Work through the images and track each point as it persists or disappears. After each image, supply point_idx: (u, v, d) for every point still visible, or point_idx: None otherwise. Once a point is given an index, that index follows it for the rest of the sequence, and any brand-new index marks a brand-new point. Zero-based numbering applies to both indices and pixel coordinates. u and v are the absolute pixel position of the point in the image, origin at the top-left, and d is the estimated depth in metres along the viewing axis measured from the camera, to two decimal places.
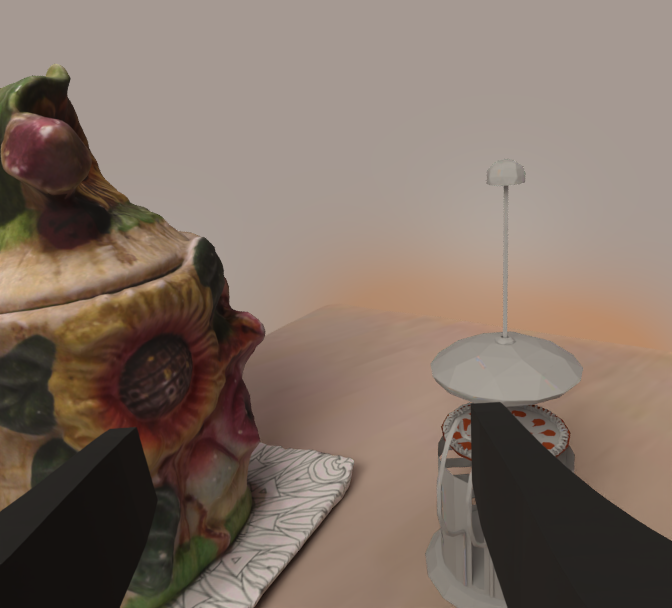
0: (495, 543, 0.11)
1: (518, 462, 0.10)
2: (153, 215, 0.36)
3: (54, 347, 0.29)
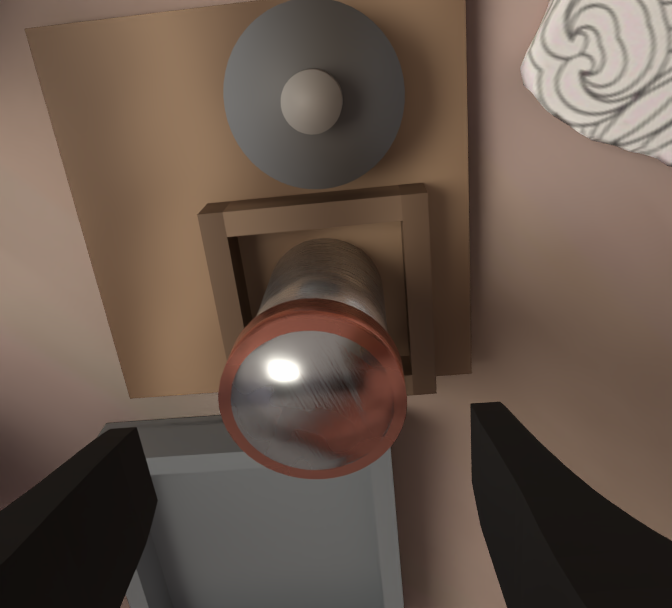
0: (495, 543, 0.11)
1: (518, 462, 0.10)
2: None
3: None
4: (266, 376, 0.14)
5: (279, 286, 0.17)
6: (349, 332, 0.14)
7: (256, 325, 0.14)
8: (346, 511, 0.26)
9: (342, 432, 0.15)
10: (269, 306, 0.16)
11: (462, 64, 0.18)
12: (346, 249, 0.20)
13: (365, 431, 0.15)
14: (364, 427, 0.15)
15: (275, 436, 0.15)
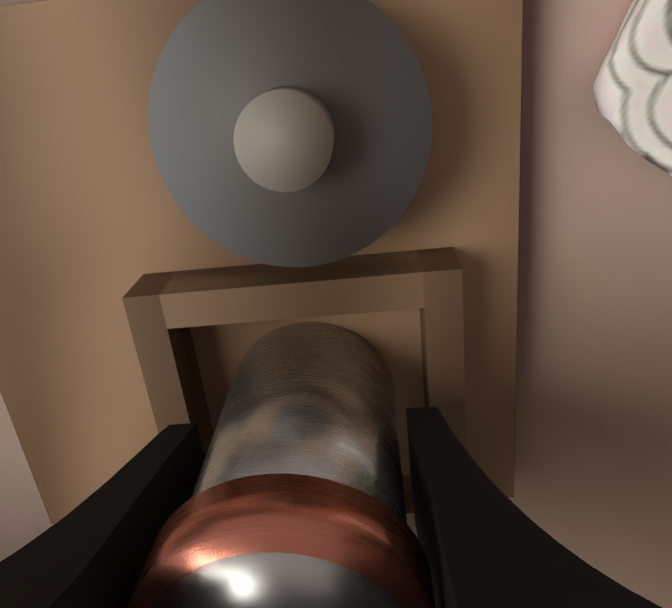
0: (424, 547, 0.11)
1: (436, 467, 0.10)
2: None
3: None
4: None
5: (238, 417, 0.11)
6: (343, 555, 0.08)
7: (185, 528, 0.08)
8: None
9: None
10: (218, 461, 0.10)
11: (515, 77, 0.12)
12: (342, 341, 0.14)
13: None
14: None
15: None
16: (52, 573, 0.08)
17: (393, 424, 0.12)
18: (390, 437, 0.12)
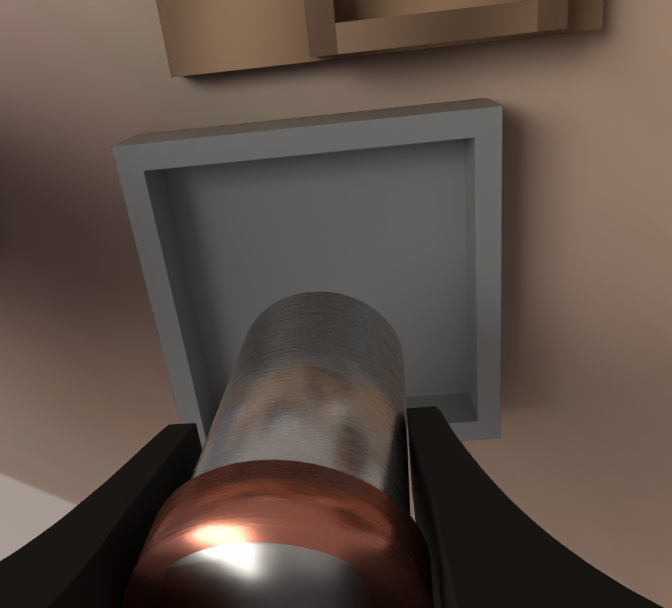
0: None
1: (437, 467, 0.10)
2: None
3: None
4: (201, 594, 0.08)
5: (246, 390, 0.11)
6: (345, 551, 0.08)
7: (188, 509, 0.08)
8: (429, 251, 0.21)
9: None
10: (224, 437, 0.10)
11: None
12: (355, 314, 0.13)
13: None
14: None
15: None
16: (51, 573, 0.08)
17: (402, 404, 0.12)
18: (398, 419, 0.12)
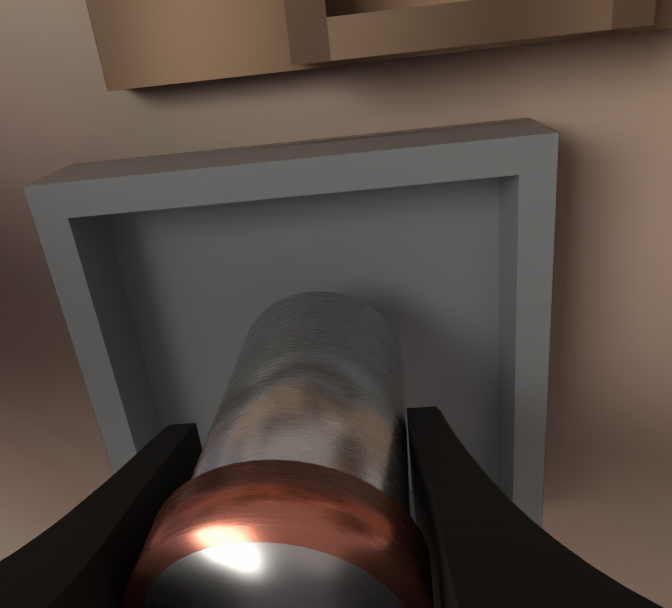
0: None
1: (437, 467, 0.10)
2: None
3: None
4: (202, 594, 0.08)
5: (246, 391, 0.11)
6: (345, 550, 0.08)
7: (188, 509, 0.08)
8: (450, 314, 0.16)
9: None
10: (224, 437, 0.10)
11: None
12: (355, 315, 0.13)
13: None
14: None
15: None
16: (51, 573, 0.08)
17: (402, 404, 0.12)
18: (398, 419, 0.12)
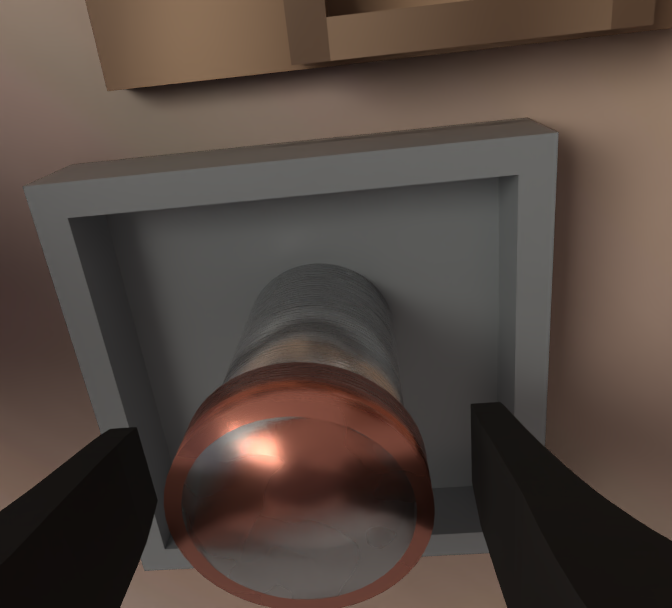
0: (495, 543, 0.11)
1: (518, 462, 0.10)
2: None
3: None
4: (234, 475, 0.10)
5: (261, 331, 0.13)
6: (358, 421, 0.09)
7: (223, 400, 0.10)
8: (450, 314, 0.16)
9: (338, 553, 0.11)
10: (245, 362, 0.12)
11: None
12: (351, 280, 0.15)
13: (372, 553, 0.10)
14: (370, 549, 0.10)
15: (243, 554, 0.11)
16: None
17: (395, 351, 0.14)
18: (393, 358, 0.13)
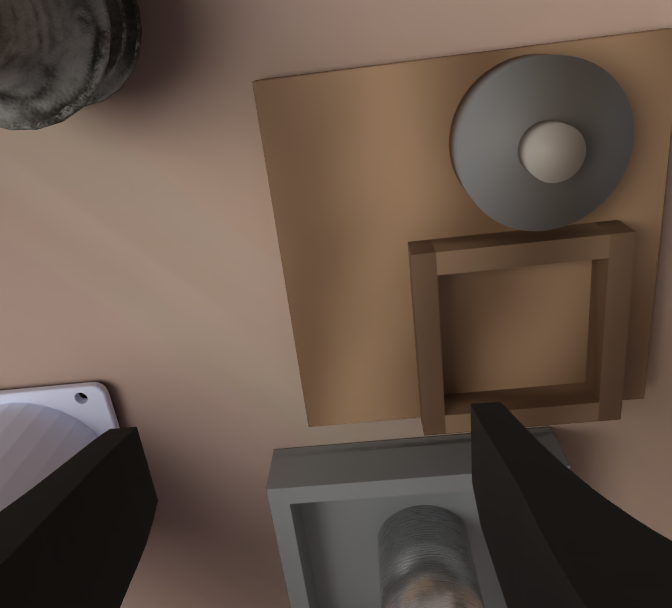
0: (495, 543, 0.11)
1: (518, 462, 0.10)
2: None
3: None
4: None
5: (405, 574, 0.23)
6: None
7: None
8: None
9: None
10: (404, 602, 0.22)
11: (668, 109, 0.19)
12: (445, 520, 0.25)
13: None
14: None
15: None
16: None
17: (476, 572, 0.24)
18: (477, 583, 0.23)
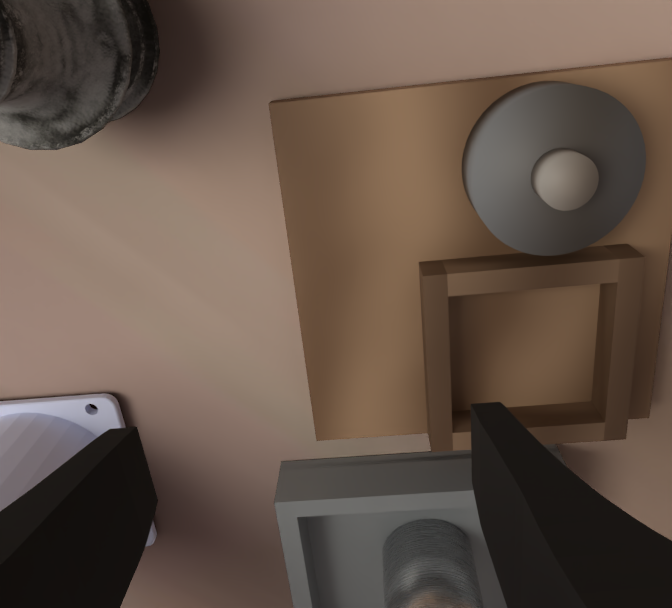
0: (495, 543, 0.11)
1: (518, 462, 0.10)
2: None
3: None
4: None
5: (409, 590, 0.23)
6: None
7: None
8: None
9: None
10: None
11: None
12: (450, 535, 0.25)
13: None
14: None
15: None
16: None
17: None
18: (481, 599, 0.24)
